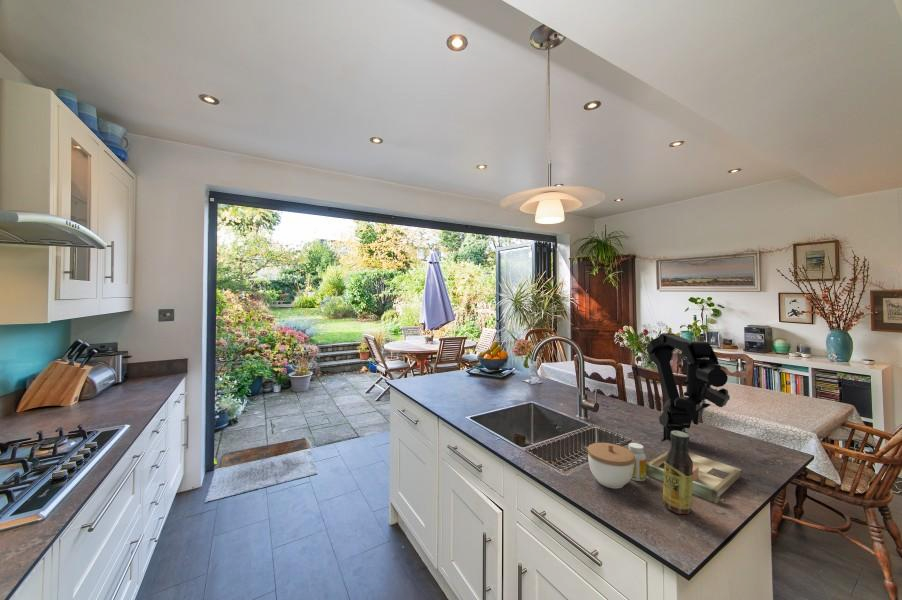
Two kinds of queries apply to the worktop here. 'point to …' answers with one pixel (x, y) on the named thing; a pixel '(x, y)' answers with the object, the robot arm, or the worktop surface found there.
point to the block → (695, 473)
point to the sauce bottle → (678, 475)
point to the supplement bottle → (638, 462)
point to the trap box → (700, 476)
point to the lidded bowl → (611, 464)
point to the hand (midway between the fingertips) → (696, 424)
